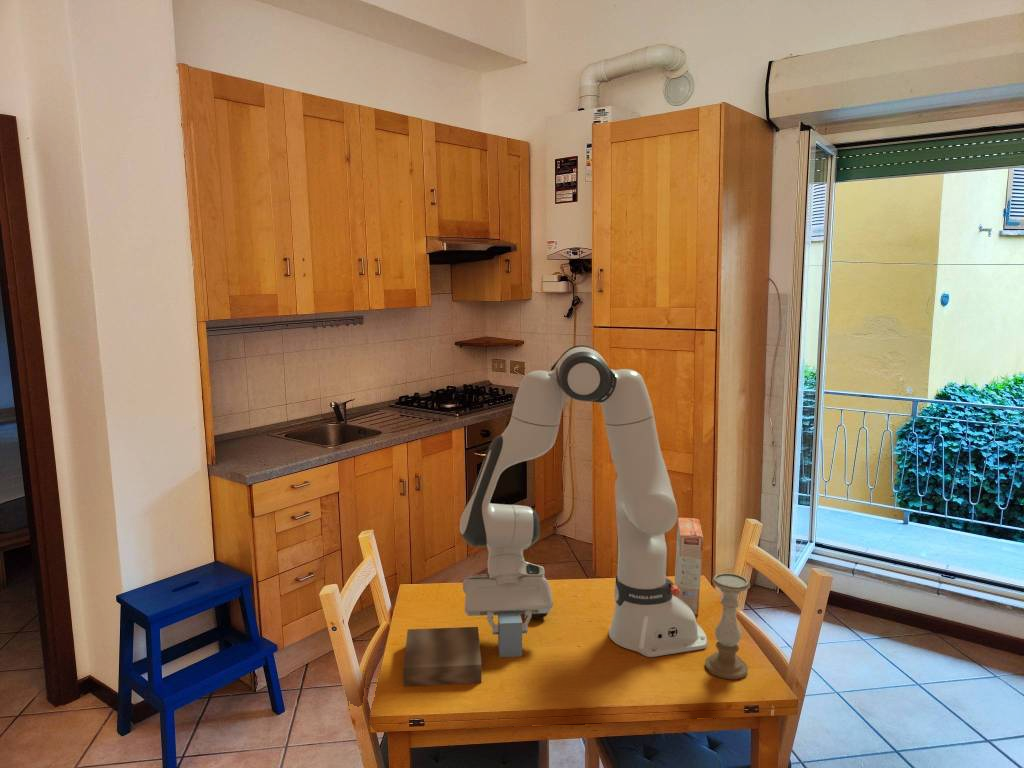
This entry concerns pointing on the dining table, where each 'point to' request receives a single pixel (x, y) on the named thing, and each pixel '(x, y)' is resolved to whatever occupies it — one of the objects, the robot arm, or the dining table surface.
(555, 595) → the dining table surface
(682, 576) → the cracker box
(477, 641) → the plinth
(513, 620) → the block
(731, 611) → the candle holder
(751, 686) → the dining table surface
